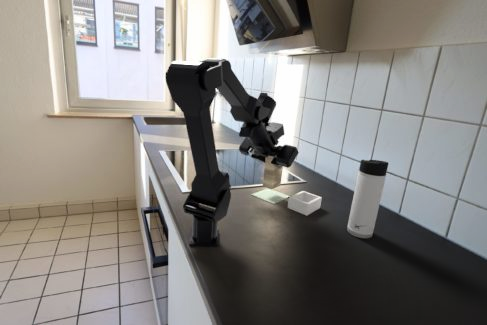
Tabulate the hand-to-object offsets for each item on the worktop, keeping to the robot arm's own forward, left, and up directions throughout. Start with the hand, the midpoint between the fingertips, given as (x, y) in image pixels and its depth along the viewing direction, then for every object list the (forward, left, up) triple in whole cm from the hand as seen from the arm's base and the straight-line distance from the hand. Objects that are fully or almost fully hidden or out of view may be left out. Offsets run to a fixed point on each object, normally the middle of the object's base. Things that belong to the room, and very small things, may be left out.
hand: (276, 165), depth 92 cm
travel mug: (-23, -19, -10) cm, 32 cm away
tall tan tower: (-1, +1, -7) cm, 7 cm away
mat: (-1, +1, -10) cm, 10 cm away
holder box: (-9, -8, -10) cm, 16 cm away
